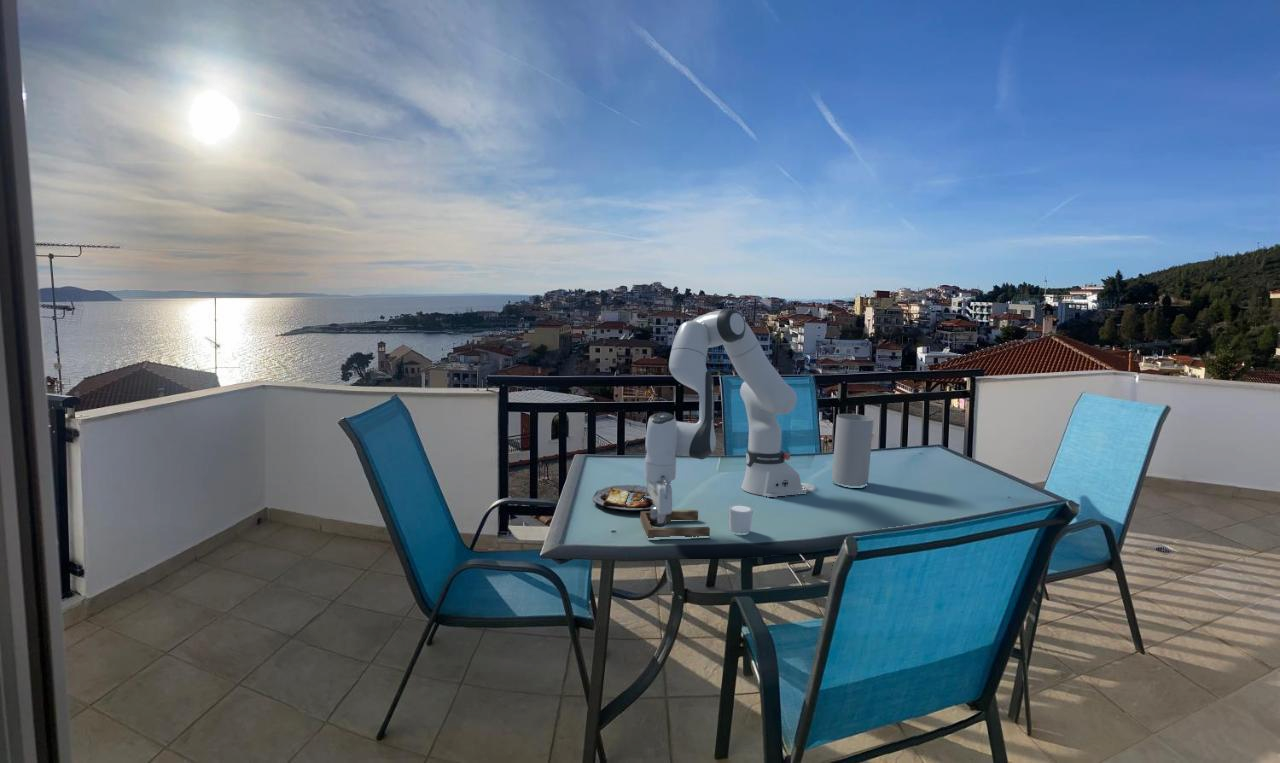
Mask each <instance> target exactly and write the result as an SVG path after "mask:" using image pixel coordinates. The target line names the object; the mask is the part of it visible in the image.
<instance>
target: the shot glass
mask: <svg viewBox="0 0 1280 763" xmlns="http://www.w3.org/2000/svg"><path fill="white" fill-rule="evenodd" d="M753 512H754V508H752V507H751V506H749V505H744V504H733V505H729V506H728V519H729V525H728V526H729V531H730V530H731V531H732V532H735V533H741V534H742V533H748V532H749V531H750V532H751V527H752V526H751V525H752V519H753V514H754V513H753Z"/></svg>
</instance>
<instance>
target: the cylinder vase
mask: <svg viewBox="0 0 1280 763" xmlns="http://www.w3.org/2000/svg"><path fill="white" fill-rule="evenodd" d="M873 426H874V418H873V417H872V416H868V415H864V414H863V415H862V414H856V413H841V414H840V413H839V414H836V418H835V434H834V446H833V459H832V470H831V471H832V473H831V481H832V480H833V481H834V482H836V483H839V484H843V485H849V486H861V485H865V484H867V483H868V484H869V474H870V462H871V453H872V452H871V451H872V438H873V428H874V427H873Z"/></svg>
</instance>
